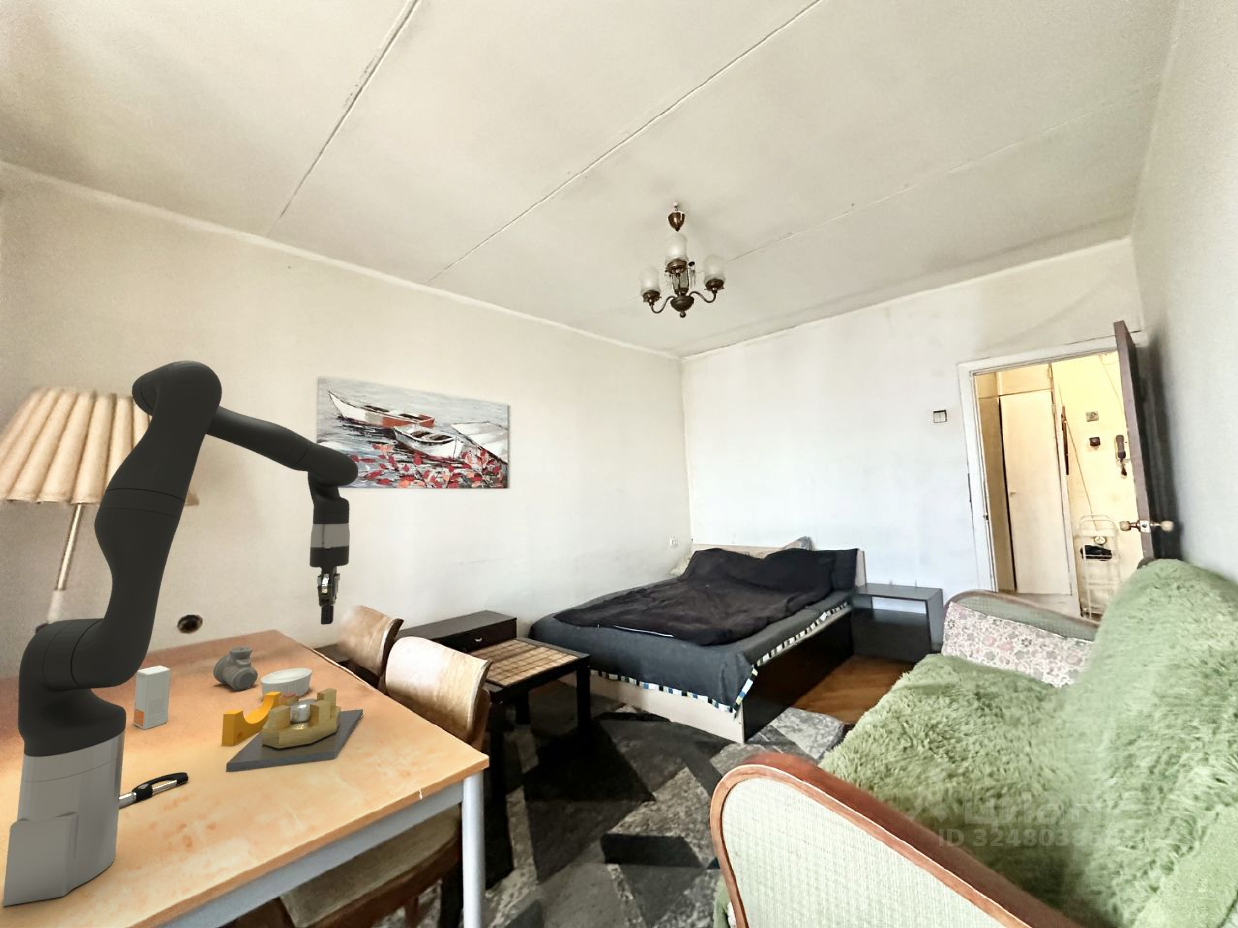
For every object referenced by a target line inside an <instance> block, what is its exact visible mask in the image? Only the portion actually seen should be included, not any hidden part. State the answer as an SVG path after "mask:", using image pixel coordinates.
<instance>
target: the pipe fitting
mask: <svg viewBox="0 0 1238 928" xmlns="http://www.w3.org/2000/svg"><path fill="white" fill-rule="evenodd" d="M252 653H253V648H252V647H250V646H247V645H246V646H235V647H232V648H229V652H228V654H226V655H223V656H222V657H220V659H219V660H218V661H217V662H216V663H215V665H214V668H213V671H212V673H213V678H214V679H215V680H216V681H218V683H220V684H223V685H229V686H230V687H231V688H232V689H234V690H236V691H244V690H247V689H249V688H251V687H252V686H254V684H255V683H256V682H257V679H258V676H259V675H258V674H259V673H258V671H257V670H256V669H255V667H253V666H252V661H251V654H252Z"/></svg>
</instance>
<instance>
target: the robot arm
mask: <svg viewBox="0 0 1238 928" xmlns="http://www.w3.org/2000/svg"><path fill="white" fill-rule="evenodd" d="M222 388H223V387H222V382H221V381H220V378H219V376H218V375H217V374H216V372H215V370H213V369H212V368H211V367H209V366H208V365H206V364H204V363H202V362H200V361H195V360H187V359H186V360H179V361H173V362H169V363H166V364H165V365H162V366H159V367H157V368H155V369H153V370H150V371H148V372H146V373H143V374H141V375H140V376H139V377H138V378H136V380H135V381H134V382H133V384H132V387H131V395H132V399H133V401H134V403H135V404H136V406H137V407H138V408H139V409H140V410H141V411H143V412H144V413H145V414H147V415H148V416H150V417H151V419H150V422H149V424H148V426H147V428H146V430H145V432H144V433H143V435H142V437H141V438H140V440H139V441H138V442H137V443H136V445H134V447H133V448H132V450H131V451H130V452H129V454H128V455H127V456H126V457H125V459H124V460H123V461H122V462H121V463H120V465H119V466H118V468H117V469H116V470H115V472H114V474H113V475H112V477H111V478H110V481H109V483H108V485H107V486H106V489H105V490H104V494H103V495H102V499H101V501H100V504H99V507H98V510H97V512H96V515H95V518H94V521H93V522H94V524H93V529H94V534H95V537H96V540H97V543H98V546H99V548H100V550H101V553H102V554H103V557H104V558H105V561H106V562H107V563H106V564H107V565H108V567H109V571H110V575H111V582H112V583H111V592H110V596H109V597H110V598H109V601H108V605H107V608H106V610H105V611H106V612H105V613H104V617H102V618H101V617H100V618H99V617H98V618H96V617H95V618H74V619H63V620H58V621H54V622H52V623H50V624H47V625H45V626H43V627H42V628H41V629H39V630H38V631H37V632H36V633H35V634H34V635H33V636H32V638H31V639H30V640H29V642H28V643H27V646H26V647H25V649H24V651H23V654H22V656H21V660H20V665H19V671H18V688H17V689H18V694H17V695H18V698H17V699H18V703H17V729H18V732H19V735H20V737H21V738H22V740H23V745H24V746H23V754H22V755H23V757H22V765H21V766H22V767H21V776H20V782H19V783H20V785H19V786H20V787H19V796H18V806H17V814H16V815H17V817H16V821H15V822H13V823H12V824H10V827H9V836H8V845H7V854H6V867H5V875H4V886H3V887H4V888H3V897H2V905H3V906H2V907H5V906H12V905H17V904H25V903H30V902H31V903H32V902H36V901H43V900H49V899H55V898H62V897H64V896H65V895H67V894H68V893H70V892H71V891H72V890H74V889H75V888H77V887H79V886H81V885H83V884H85V883H87V882H89V881H90V880H92V879H94V878H95V877H97V876H99V875H100V874H102V872H105V870H106V869H107V868H109V867H110V865H111V864H112V863H113V862H114V860H115V858H116V853H117V852H116V850H117V838H118V829H119V828H118V827H119V813H120V809H119V802H120V795H121V790H122V789H121V788H122V787H121V786H122V774H123V761H124V750H125V749H124V748H125V740H126V739H125V738H126V736H125V735H126V727H127V711H126V709H125V708H124V707H122V706H121V705H119V704H116V703H113V702H110V701H107V700H104V699H103V698H100V697H99V696H98V695H96V694H95V693H94V692H93V690H94V689H106V688H113V687H118V686H121V685H123V684H125V683H126V682H128V681H129V680H131V679H132V678H133V677H134V676H135V674H136V675H137V671H138V670H140V668H141V666H142V664H143V663H144V660H145V658H146V656H147V654H148V650H149V647H150V643H151V640H152V635H153V631H154V625H155V619H156V612H157V607H158V601H159V597H160V596H159V595H160V591H161V586H162V582H163V578H164V573H165V569H166V565H167V561H168V557H169V556H170V555H169V554H170V551H171V547H172V544H173V541H174V538H175V535H176V533H177V529H178V527H179V523H180V521H181V518H182V514H183V510H184V508H185V507H184V506H185V504H186V500H187V496H188V492H189V488H190V485H191V482H192V481H191V480H192V479H193V475H194V472H195V468H196V465H197V461H198V458H199V454H200V451H201V447H202V444H203V442H204V439H205V437H206V436H209V437H213V438H216V439H220V440H222V441H225V442H227V443H231V444H233V445H235V446H238V447H241V448H243V449H246V450H248V451H251V452H252V453H256V454H257V455H260V456H262V457H265V458H267V459H269V460H270V461H272V462H275V463H276V464H277V463H278V464H279V465H282V466H284V467H286V468H287V469H290V470H294V471H296V472H307V485H308V488H309V492H310V496H311V497H310V498H311V501H312V504H313V509H312V512H313V513H312V514H313V515H312V528H311V532H310V545H309V566H310V567H312V568H320V569H321V570H320V574H319V575H317V576H316V577H317V578H316V580H317V581H316V583H317V587H316V589H317V595H318V596H317V597H318V605H319V607H320V609H321V610H320V612H321V613H320V616H321V617H320V624H321V625H322V626H323V625H325V626H326V625H331V624H333V622H334V615H335V614H334V612H335V605H336V601H337V599H338V597H337V594H338V593H339V583H340V582H339V581H340V580H341V573H340V572H338V567H343V566H344V567H345V566H348V564H349V563H350V542H351V541H350V539H351V538H350V537H351V532H350V509H351V508H350V501H349V500H348V499H347V498H345V497H342V496H341V495H340V490H339V487H344V486H349V485H350V484H352V483H354V482H355V481H356V480H357V478H358V475H359V466H358V465H357V463H356V461H355V460H354V459H353V458H352V457H351V456H349V455H347V454H346V453H343V452H342V451H339V450H335V449H333V448H330V447H327V446H325V445H322V444H319V443H315V442H313V441H311V440H310V439H308V438H306V437H304V436H303V435H300V434H299V433H297V432H295V431H293V430H291V429H289V428H288V427H285V426H283V425H280V424H277V423H275V422H272V421H268V420H264V419H260V418H257V417H253V416H249V415H246V414H242V413H238V412H237V411H233V410H231V409H228V408H225V407H224V406H221V405H220V404H221V401H222V396H223V389H222Z"/></svg>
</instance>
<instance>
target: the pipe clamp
mask: <svg viewBox="0 0 1238 928" xmlns="http://www.w3.org/2000/svg"><path fill="white" fill-rule="evenodd" d="M279 697H281V692H269V693H267V694H265V695H264V698H263V700H262V704H261V706H260V707H258V708H256V709H254V710H252V711H250V712H249V713H248V714H247V715H246V716H244V710H243V709H231V710H229V711H227V712H225V713H223V717H222V730H221V731H222V732H221V734H222V735H221V746H222V747H234V746H236V745H238V744H240V743H242V742H244V741H245V740H247V739H248V738H250V737H252V736H254V735H257V734H259V733H260V732H261V731H262V730H261V729H262V727H263V726H264V725H265V723H266V722H267V721H268V712H269V710H271V709H274V708H277V707H279Z"/></svg>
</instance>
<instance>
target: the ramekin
mask: <svg viewBox="0 0 1238 928" xmlns="http://www.w3.org/2000/svg"><path fill="white" fill-rule="evenodd" d="M312 675H313V671H312V669H310V668H309V667H308V668H307V667H295V668H287V669H281V670H277V671H274V672H271V673H268V674H266V675H264V676H263V677H261V679H260V685H261V690H262V691H261V692H262V698H263V699H264V695H265V694H267V693H269V692H281V696H282V695H284V694H287V693H294V694H297V695H299V698H300V697H302V696H303V695H305V694H306V693H307V692H308V690H309V688H310V687H309V686H310V682H311V678H312Z"/></svg>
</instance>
